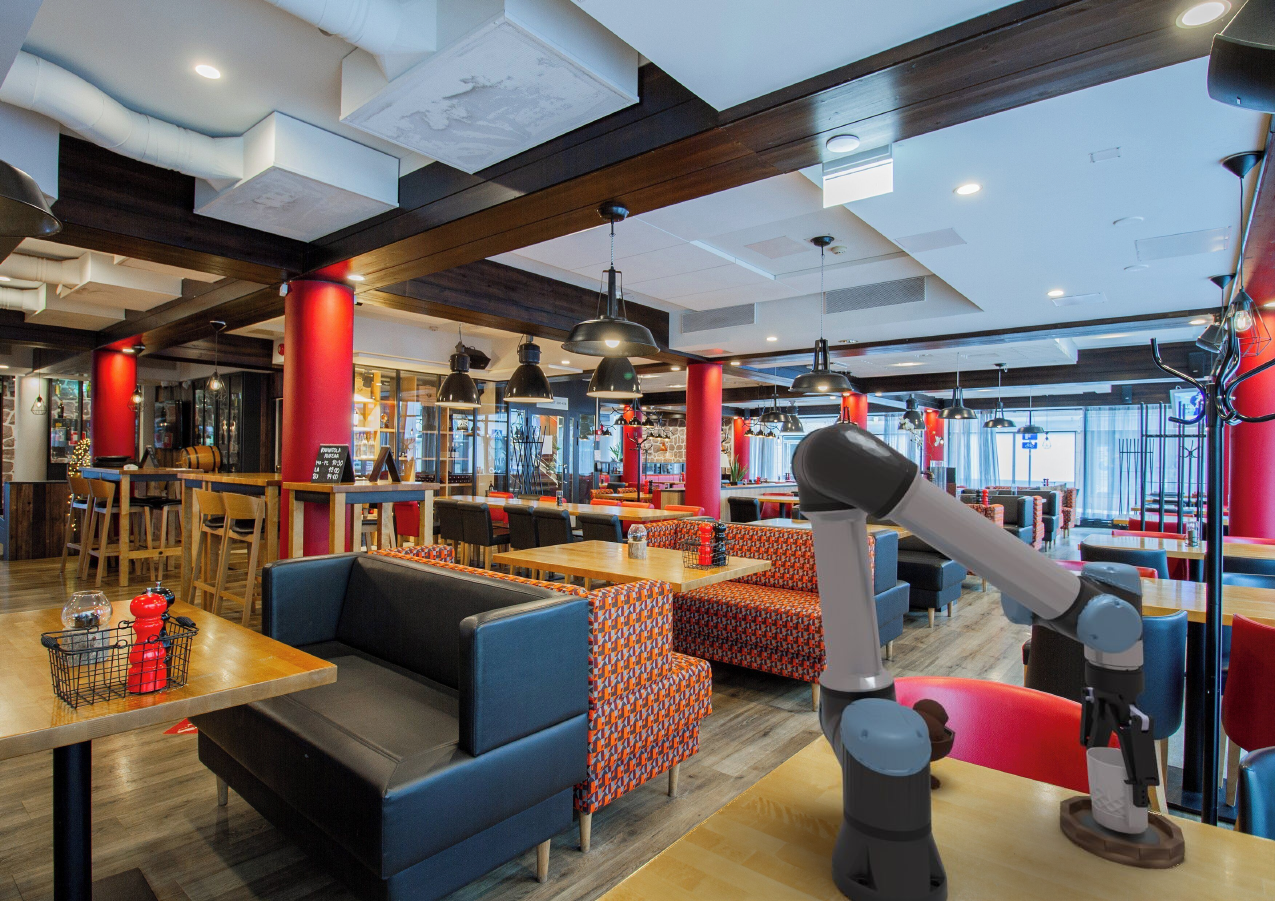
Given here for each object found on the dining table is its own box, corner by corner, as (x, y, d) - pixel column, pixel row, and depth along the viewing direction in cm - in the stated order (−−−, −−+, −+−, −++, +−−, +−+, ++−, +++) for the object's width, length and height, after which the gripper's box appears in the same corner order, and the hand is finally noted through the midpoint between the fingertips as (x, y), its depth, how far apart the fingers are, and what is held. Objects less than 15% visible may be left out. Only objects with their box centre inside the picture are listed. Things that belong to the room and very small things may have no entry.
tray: (1099, 867, 96) (1098, 847, 96) (1040, 811, 112) (1039, 794, 112) (1212, 869, 95) (1212, 849, 95) (1136, 813, 111) (1136, 796, 111)
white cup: (1162, 838, 99) (1160, 770, 99) (1102, 833, 101) (1100, 766, 101) (1134, 811, 107) (1132, 748, 107) (1079, 807, 108) (1077, 744, 109)
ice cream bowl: (907, 763, 130) (906, 686, 131) (967, 783, 122) (965, 700, 123) (881, 781, 123) (879, 699, 124) (942, 803, 115) (940, 715, 115)
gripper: (1189, 684, 94) (1195, 849, 93) (1097, 645, 114) (1101, 781, 114) (1134, 684, 94) (1139, 848, 94) (1051, 645, 115) (1055, 780, 114)
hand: (1118, 811), depth 104 cm, fingers closed on white cup, 8 cm apart
